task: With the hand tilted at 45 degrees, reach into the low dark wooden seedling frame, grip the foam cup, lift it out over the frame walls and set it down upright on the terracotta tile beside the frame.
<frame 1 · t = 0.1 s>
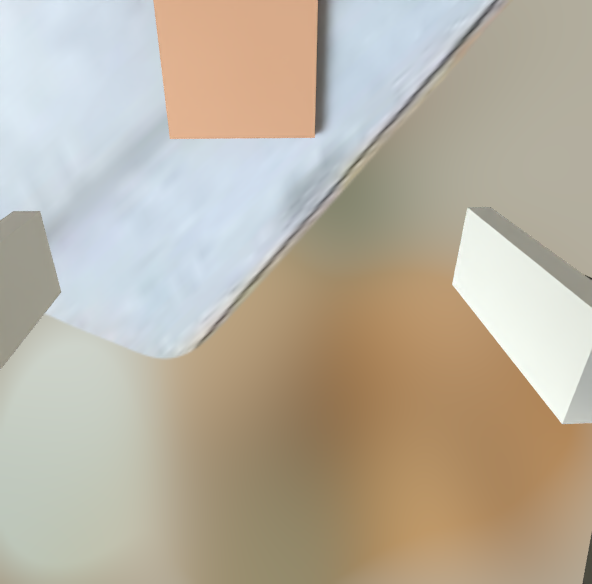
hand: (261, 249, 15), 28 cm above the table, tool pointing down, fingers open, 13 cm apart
terracotta tile: (239, 57, 37), on the table
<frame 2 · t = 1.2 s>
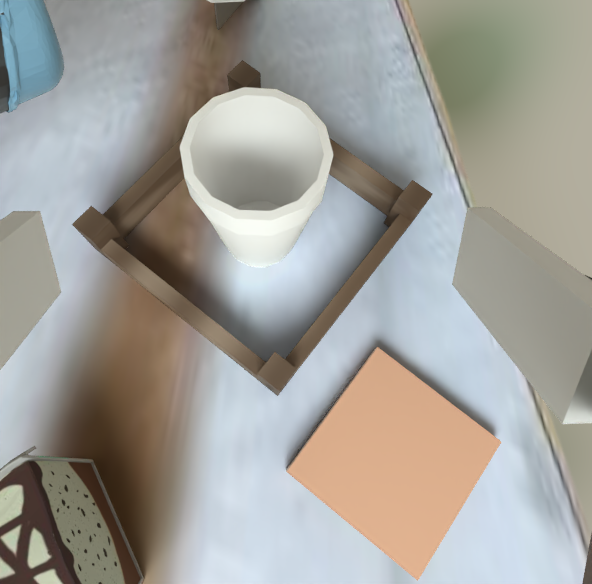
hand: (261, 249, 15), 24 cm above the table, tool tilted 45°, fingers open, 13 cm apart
grey yellow plug connector: (246, 13, 48), on the table
foam cup: (259, 234, 41), resting in seedling frame
seedling frame: (259, 233, 41), on the table
cake slice: (78, 539, 34), on the table
terracotta tile: (392, 455, 37), on the table
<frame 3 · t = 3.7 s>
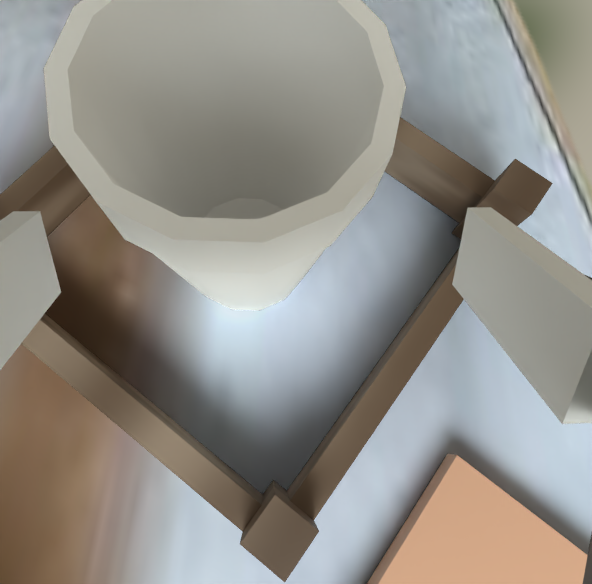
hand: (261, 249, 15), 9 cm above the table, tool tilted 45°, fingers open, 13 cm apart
foam cup: (248, 255, 25), resting in seedling frame
seedling frame: (248, 253, 25), on the table
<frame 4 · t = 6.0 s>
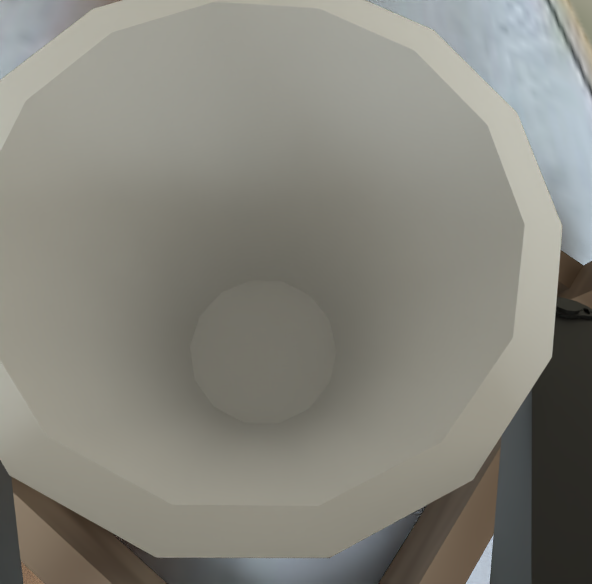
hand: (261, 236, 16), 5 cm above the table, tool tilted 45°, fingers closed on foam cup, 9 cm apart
foam cup: (264, 352, 20), resting in seedling frame, touching gripper
seedling frame: (264, 351, 19), on the table
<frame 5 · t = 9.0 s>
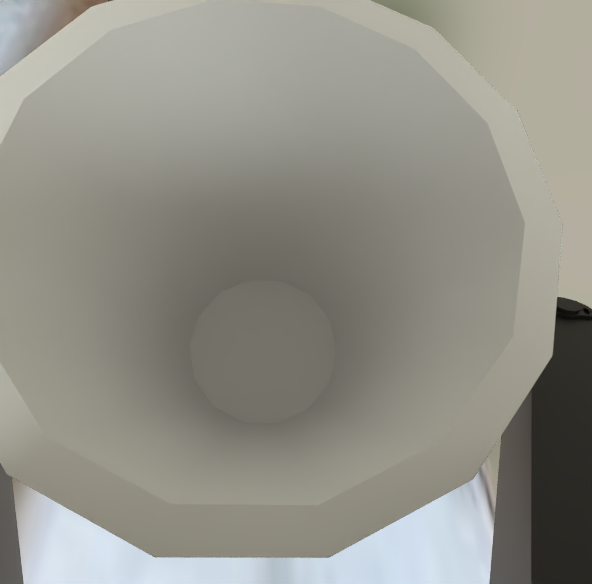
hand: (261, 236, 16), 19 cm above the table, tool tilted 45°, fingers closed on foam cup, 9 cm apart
foam cup: (263, 351, 20), point 14 cm above the table, touching gripper
when the fingers open (7 cm above the table, at t = 12.2 s): foam cup drops 1 cm, resting on terracotta tile.
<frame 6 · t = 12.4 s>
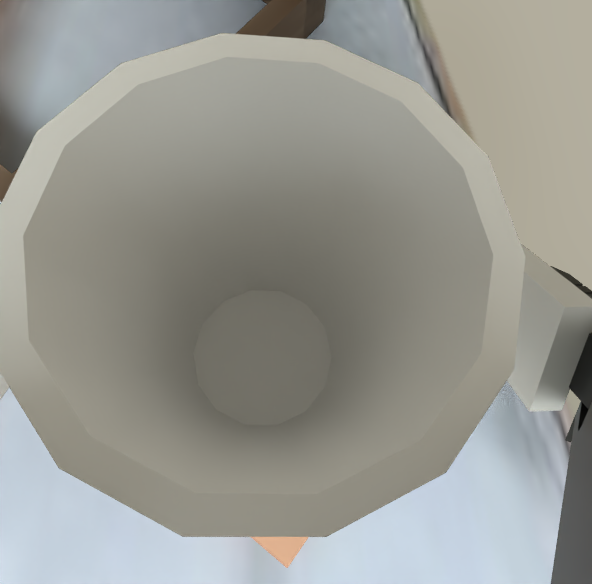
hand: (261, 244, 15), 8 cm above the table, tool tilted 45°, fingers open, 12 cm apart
foam cup: (263, 357, 21), point 1 cm above the table, touching terracotta tile
seedling frame: (79, 33, 26), on the table
terracotta tile: (264, 359, 22), on the table
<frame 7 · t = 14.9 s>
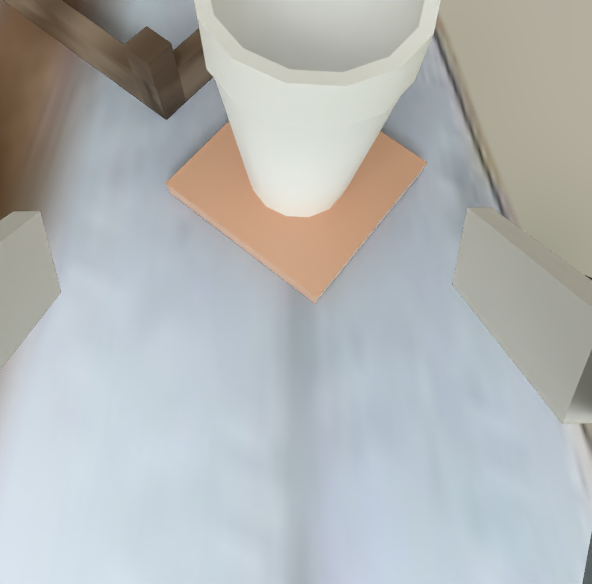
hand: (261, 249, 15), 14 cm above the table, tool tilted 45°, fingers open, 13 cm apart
foam cup: (298, 174, 30), point 1 cm above the table, touching terracotta tile
terracotta tile: (298, 182, 31), on the table
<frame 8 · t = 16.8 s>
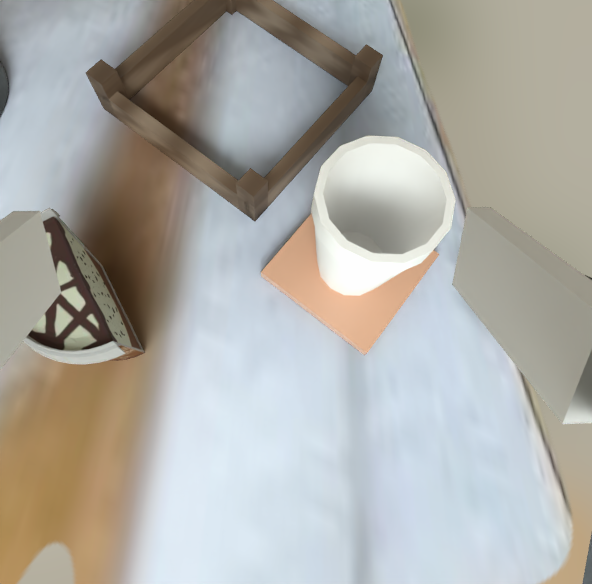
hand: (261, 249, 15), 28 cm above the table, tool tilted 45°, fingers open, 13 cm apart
foam cup: (350, 264, 43), point 1 cm above the table, touching terracotta tile
seedling frame: (241, 99, 49), on the table
cake slice: (91, 324, 41), on the table
terracotta tile: (349, 267, 44), on the table
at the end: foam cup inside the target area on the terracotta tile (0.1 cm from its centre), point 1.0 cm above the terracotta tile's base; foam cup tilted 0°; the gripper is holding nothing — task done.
